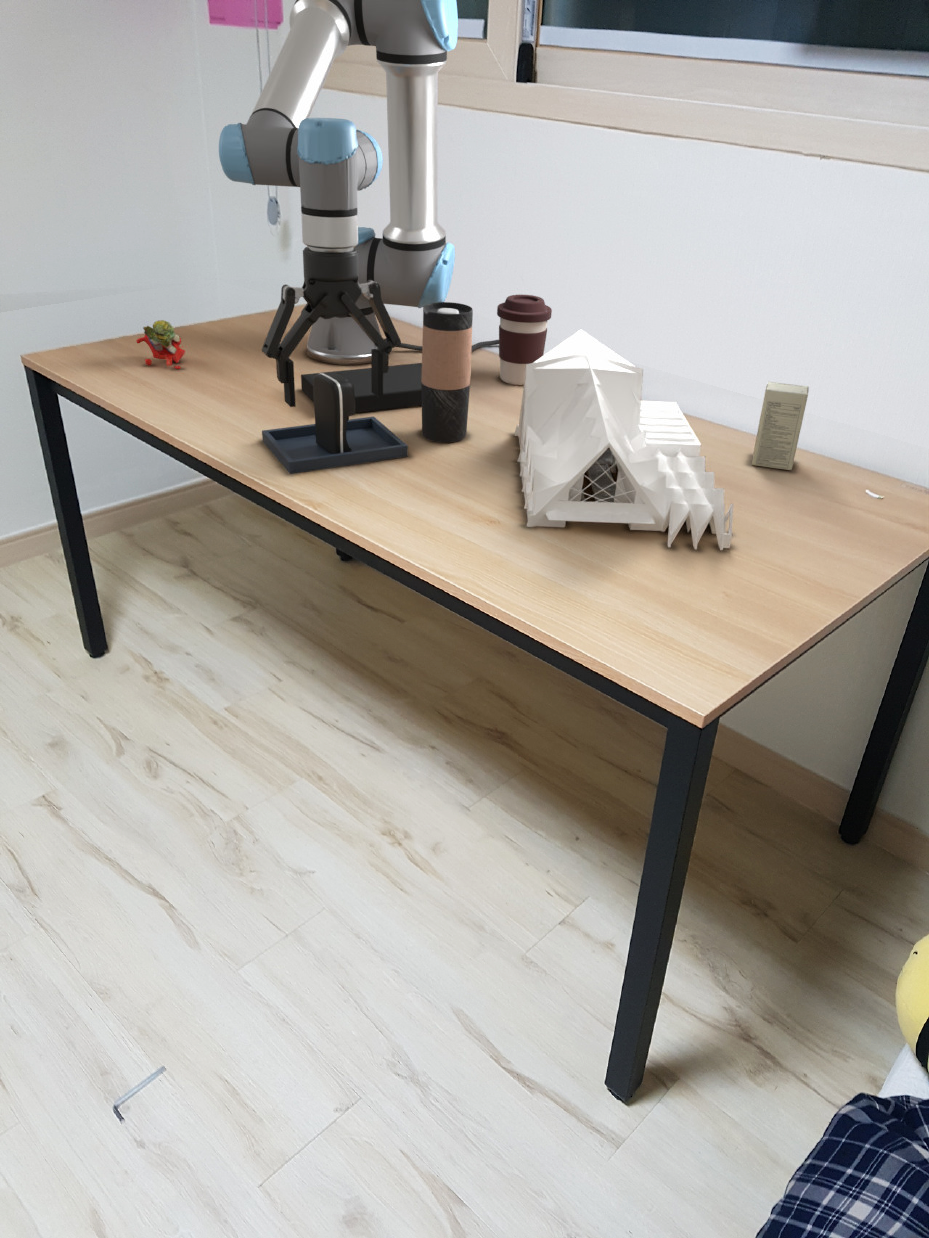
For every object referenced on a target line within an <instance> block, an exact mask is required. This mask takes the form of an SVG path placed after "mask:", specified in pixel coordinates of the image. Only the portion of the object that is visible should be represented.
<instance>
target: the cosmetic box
mask: <svg viewBox="0 0 929 1238" xmlns="http://www.w3.org/2000/svg"><path fill="white" fill-rule="evenodd" d="M809 391H810V388H809V386H807V385H799V384H790V383H783V382H782V383H781V382H773V381H767V384H766V386H765V391H764V396H763V401H762V406H761V412H760V416H759V422H758V427H757V432H756V437H755V443H754V448H753V454H752V459H751V462H750V463H751V465H752V466H757V467H763V468H772V469H779V470H787V471H793V466H794V462H795V457H796V452H797V449H798V443H799V439H800V434H801V429H802V424H803V421H804V420H803V419H804V416H805V411H806V406H807V403H808V402H807V401H808V397H809Z"/></svg>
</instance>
